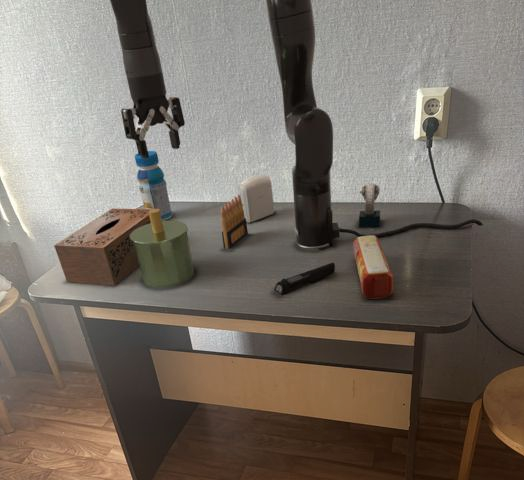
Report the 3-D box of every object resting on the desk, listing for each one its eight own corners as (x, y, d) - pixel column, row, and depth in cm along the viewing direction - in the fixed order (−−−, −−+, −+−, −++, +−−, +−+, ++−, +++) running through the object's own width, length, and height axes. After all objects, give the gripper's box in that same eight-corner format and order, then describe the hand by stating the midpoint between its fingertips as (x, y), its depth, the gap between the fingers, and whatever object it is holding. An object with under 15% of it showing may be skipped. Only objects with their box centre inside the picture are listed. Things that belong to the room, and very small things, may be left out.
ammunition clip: (229, 250, 137) (223, 206, 130) (223, 250, 137) (217, 206, 131) (248, 235, 144) (243, 193, 138) (242, 234, 145) (237, 192, 138)
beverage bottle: (170, 221, 160) (156, 155, 149) (144, 224, 161) (128, 158, 149) (174, 212, 167) (161, 148, 156) (149, 214, 168) (134, 151, 156)
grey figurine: (380, 218, 144) (381, 179, 138) (379, 229, 138) (380, 189, 132) (359, 219, 146) (360, 180, 139) (358, 230, 139) (358, 189, 133)
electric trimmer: (339, 277, 118) (338, 264, 116) (282, 298, 112) (281, 285, 111) (329, 271, 121) (329, 259, 119) (273, 291, 115) (272, 279, 113)
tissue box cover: (121, 241, 150) (112, 208, 145) (164, 243, 146) (156, 209, 140) (67, 282, 131) (54, 245, 125) (114, 285, 126) (103, 247, 120)
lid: (191, 222, 126) (186, 198, 123) (184, 244, 115) (179, 218, 111) (137, 227, 127) (131, 203, 123) (125, 250, 116) (117, 224, 112)
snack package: (352, 259, 125) (352, 232, 121) (380, 257, 124) (380, 230, 120) (361, 302, 107) (361, 272, 104) (393, 300, 107) (394, 270, 103)
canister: (196, 264, 132) (188, 221, 125) (191, 286, 121) (181, 241, 115) (149, 268, 133) (138, 226, 126) (139, 291, 122) (127, 246, 116)
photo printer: (249, 224, 152) (244, 182, 145) (241, 220, 154) (235, 179, 148) (276, 214, 156) (272, 172, 149) (267, 211, 159) (264, 170, 152)
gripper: (124, 78, 101) (144, 163, 110) (182, 66, 108) (195, 146, 117) (105, 78, 105) (125, 159, 115) (161, 67, 113) (176, 143, 122)
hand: (160, 152), depth 116 cm, fingers open, 8 cm apart
